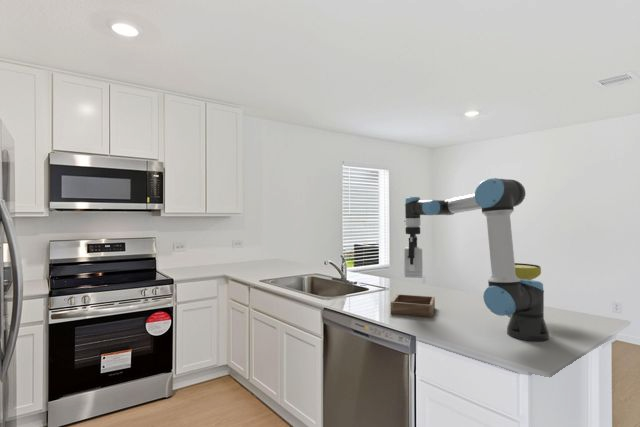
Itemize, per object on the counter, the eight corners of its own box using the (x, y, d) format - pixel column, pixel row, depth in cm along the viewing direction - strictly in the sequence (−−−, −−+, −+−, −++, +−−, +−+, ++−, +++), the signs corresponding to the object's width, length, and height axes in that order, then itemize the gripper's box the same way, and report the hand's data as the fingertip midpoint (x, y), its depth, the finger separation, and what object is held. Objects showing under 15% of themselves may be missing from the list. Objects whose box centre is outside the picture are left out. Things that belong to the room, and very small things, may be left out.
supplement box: (422, 278, 188) (422, 248, 188) (404, 277, 190) (404, 248, 190) (421, 275, 197) (421, 246, 197) (404, 274, 199) (404, 246, 199)
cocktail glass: (528, 311, 190) (528, 262, 190) (549, 322, 172) (549, 268, 172) (492, 311, 190) (492, 263, 190) (510, 322, 172) (509, 268, 172)
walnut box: (431, 317, 180) (431, 305, 180) (390, 314, 188) (390, 302, 188) (434, 307, 199) (434, 296, 199) (397, 304, 206) (397, 294, 206)
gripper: (408, 225, 205) (408, 266, 205) (402, 227, 184) (402, 272, 184) (422, 225, 203) (422, 266, 202) (417, 227, 182) (418, 273, 182)
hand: (413, 269), depth 193 cm, fingers closed on supplement box, 10 cm apart
